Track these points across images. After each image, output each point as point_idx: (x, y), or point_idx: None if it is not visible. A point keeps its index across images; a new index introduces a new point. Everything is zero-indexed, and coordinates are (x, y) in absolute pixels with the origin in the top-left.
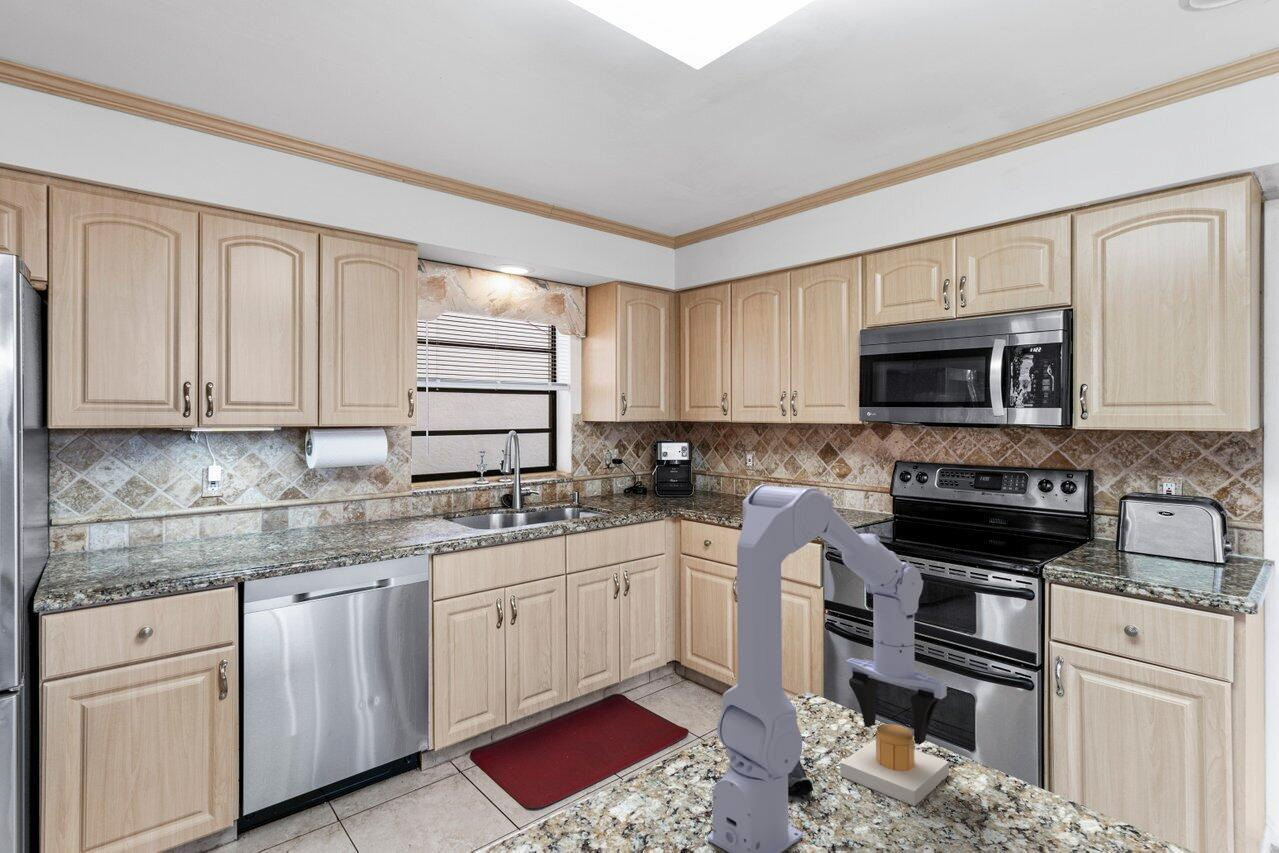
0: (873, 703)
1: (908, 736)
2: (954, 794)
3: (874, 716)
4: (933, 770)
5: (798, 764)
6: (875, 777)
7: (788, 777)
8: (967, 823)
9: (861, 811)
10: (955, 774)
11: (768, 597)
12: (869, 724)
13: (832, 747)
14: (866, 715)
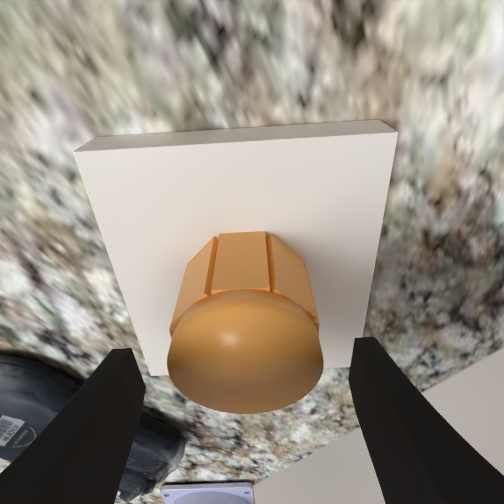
0: (87, 452)
1: (312, 370)
2: (418, 226)
3: (121, 383)
4: (366, 244)
5: None
6: None
7: (145, 470)
8: (465, 317)
9: None
10: (396, 88)
11: None
12: (140, 393)
13: (10, 243)
14: (127, 450)
